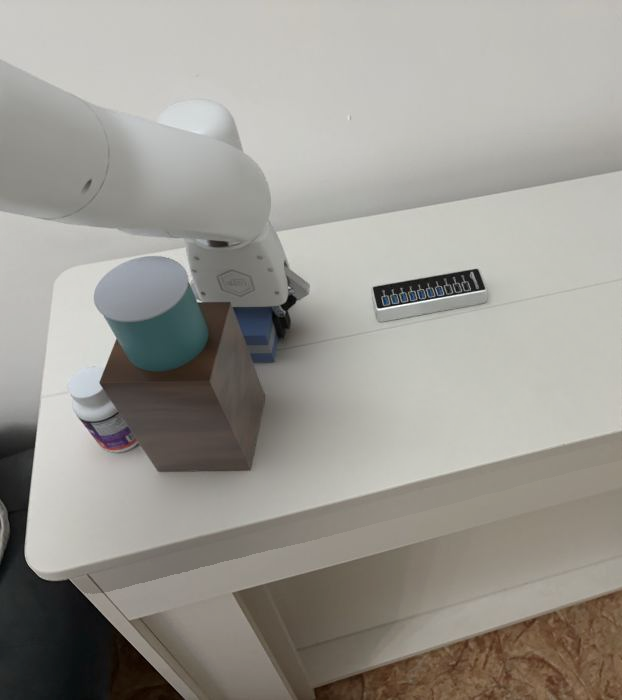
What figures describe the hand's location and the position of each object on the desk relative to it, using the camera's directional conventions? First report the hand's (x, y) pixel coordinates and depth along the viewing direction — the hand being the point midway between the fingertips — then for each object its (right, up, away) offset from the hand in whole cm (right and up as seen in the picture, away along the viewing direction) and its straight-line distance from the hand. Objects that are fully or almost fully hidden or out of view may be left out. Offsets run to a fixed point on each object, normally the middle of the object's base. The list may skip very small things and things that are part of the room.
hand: (262, 329), depth 89 cm
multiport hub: (+21, +4, +4) cm, 22 cm away
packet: (0, 0, 0) cm, 0 cm away
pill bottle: (-13, -12, -9) cm, 20 cm away
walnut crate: (-3, -12, -9) cm, 15 cm away
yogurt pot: (-3, -2, -22) cm, 22 cm away
